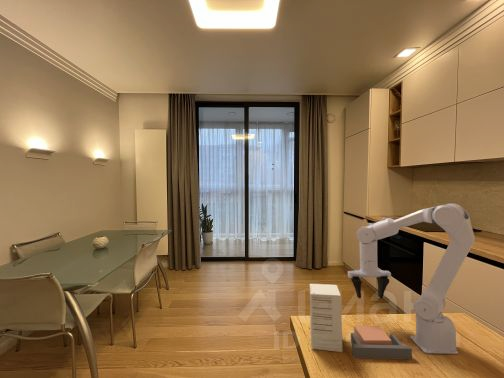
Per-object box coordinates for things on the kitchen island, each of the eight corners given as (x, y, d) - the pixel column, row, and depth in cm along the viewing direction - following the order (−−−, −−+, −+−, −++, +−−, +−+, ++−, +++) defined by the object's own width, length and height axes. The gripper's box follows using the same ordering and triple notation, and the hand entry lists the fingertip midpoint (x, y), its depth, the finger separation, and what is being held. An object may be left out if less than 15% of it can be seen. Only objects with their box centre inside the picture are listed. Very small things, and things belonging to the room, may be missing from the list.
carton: (379, 338, 81) (378, 325, 81) (392, 354, 73) (391, 340, 73) (354, 338, 82) (354, 325, 82) (364, 353, 74) (364, 340, 74)
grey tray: (398, 343, 78) (398, 333, 78) (412, 359, 70) (411, 348, 70) (346, 342, 79) (345, 332, 79) (354, 357, 71) (353, 347, 71)
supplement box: (343, 353, 74) (341, 296, 74) (311, 349, 76) (309, 294, 76) (338, 334, 83) (337, 284, 83) (310, 332, 85) (309, 282, 85)
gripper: (383, 256, 94) (384, 292, 93) (344, 256, 94) (345, 292, 94) (393, 261, 87) (394, 300, 86) (351, 262, 87) (352, 301, 87)
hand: (369, 297), depth 90 cm, fingers open, 7 cm apart
